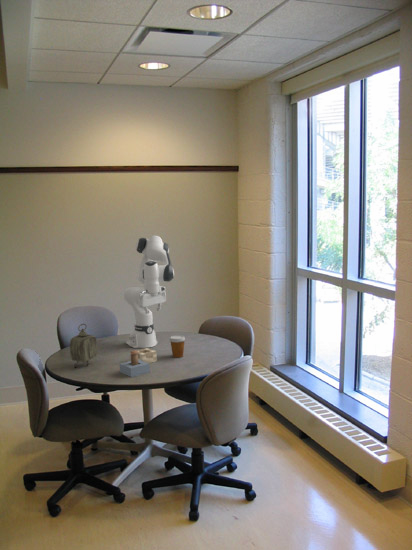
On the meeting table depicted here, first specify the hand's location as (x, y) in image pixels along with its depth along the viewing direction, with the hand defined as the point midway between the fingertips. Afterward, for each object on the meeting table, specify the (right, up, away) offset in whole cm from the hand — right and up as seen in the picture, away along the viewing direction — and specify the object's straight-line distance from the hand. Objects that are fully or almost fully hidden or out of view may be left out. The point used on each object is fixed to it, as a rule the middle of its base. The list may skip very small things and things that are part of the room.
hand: (153, 312), depth 334 cm
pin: (-8, -32, -19) cm, 38 cm away
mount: (-5, -29, +2) cm, 30 cm away
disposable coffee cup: (+14, -28, +10) cm, 33 cm away
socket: (-8, -32, -19) cm, 38 cm away
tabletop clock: (-40, -31, -3) cm, 51 cm away
